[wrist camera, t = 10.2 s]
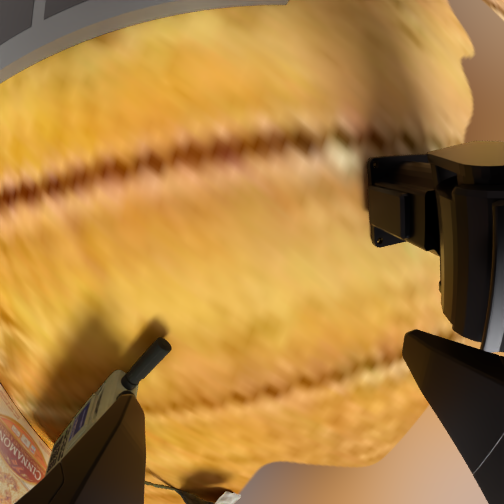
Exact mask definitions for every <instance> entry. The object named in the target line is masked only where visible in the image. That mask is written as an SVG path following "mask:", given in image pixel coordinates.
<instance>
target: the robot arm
mask: <svg viewBox="0 0 504 504" xmlns="http://www.w3.org/2000/svg"><path fill="white" fill-rule="evenodd" d="M374 161H375V162H376V167H375V168H374V167H373V163H374ZM367 169H368V180H369V188H368V202H369V220H370V223H371V230H372V243H373V245H375V246H377V247H384V246H388V245H393V244H397V243H402V242H406V241H407V242H409V243H411V244H413V245H415V246H417V247H419V248H421V249H423V250H425V251H430V252H431V253H433V254H435V255H437V256H439V257H440V282H439V291H440V292H441V305H442V309H443V313H444V314H445V316H446V317H447V318H448V320H449V321H450V322H451V323H452V329H453V330H454V331H455V332H457V333H458V334H460V335H461V336H463V337H465V338H468V339H470V340H473V341H477V342H481V347H480V349H477V348H474V347H471V346H467V345H464V344H461V343H458V342H455V341H451V340H448V339H445V338H442V337H439V336H436V335H432V334H429V333H426V332H423V331H420V330H417V329H415V330H412V331H410V332H407V333H406V334H405V337H404V343H403V350H402V355H403V358H404V360H405V362H406V364H407V366H408V368H409V369H410V371H411V373H412V375H413V377H414V379H415V381H416V383H417V385H418V387H419V388H420V390H421V392H422V393H423V395H424V397H425V398H426V400H427V401H428V403H429V404H430V406H431V407H432V409H433V410H434V412H435V413H436V415H437V416H438V418H439V420H440V421H441V423H442V424H443V426H444V427H445V429H446V430H447V432H448V434H449V435H450V437H451V439H452V440H453V442H454V444H455V445H456V447H457V449H458V450H459V452H460V453H461V455H462V457H463V458H464V460H465V462H466V464H467V465H468V467H469V469H470V470H471V472H472V474H473V476H474V478H475V479H476V481H477V483H478V485H479V487H480V488H481V490H482V492H483V494H484V496H485V498H486V500H487V501H488V503H489V504H504V357H503V356H499V355H497V354H493V353H492V352H504V142H501V141H473V142H468V143H463V144H459V145H455V146H451V147H447V148H443V149H439V150H435V151H431V152H427V154H420V155H400V156H384V157H372V158H370V159H369V160H368V162H367ZM378 238H380V241H379V242H377V240H378ZM145 466H146V443H145V416H144V412H143V410H142V408H141V406H140V404H139V403H138V401H137V399H136V397H135V396H134V395H132V394H126V395H121V396H120V397H119V398H118V399H117V400H116V401H115V402H114V403H113V404H112V405H111V406H110V407H109V409H108V410H107V411H106V412H105V413H104V414H103V415H102V416H101V417H100V418H99V419H98V420H97V422H96V423H95V424H94V425H93V426H92V427H91V428H90V429H89V430H88V431H87V432H86V433H85V434H84V436H83V437H82V438H81V439H80V440H79V441H78V442H77V443H76V444H75V445H74V446H73V447H72V449H71V450H70V451H69V452H68V453H67V454H66V455H65V456H64V457H63V458H62V459H61V461H60V462H58V464H57V465H56V466H55V467H54V468H53V469H52V470H51V471H50V472H49V473H48V474H47V475H46V476H45V477H44V478H43V479H42V480H41V481H40V482H39V483H37V484H36V485H35V486H34V487H33V488H32V489H31V490H30V491H28V492H27V493H26V494H25V495H24V496H22V497H21V498H20V499H19V500H18V501H17V502H15V503H14V504H144V484H145Z"/></svg>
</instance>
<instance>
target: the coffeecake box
mask: <svg viewBox="0 0 504 504" xmlns="http://www.w3.org/2000/svg"><path fill="white" fill-rule="evenodd" d="M51 452H52V451H51V450H50V449H49V448H48V447H47V445H46V444H45V443H44V442H43V441H42V440H41V438H40V437H39V436H38V435H37V434H36V432H35V431H34V430H33V429H32V428H31V426H30V425H29V424H28V422H27V421H26V420H25V418H24V417H23V416H22V414H21V413H20V412H19V410H18V409H17V407H16V406H15V405H14V403H13V402H12V400H11V399H10V397H9V396H8V394H7V393H6V391H5V390H4V388H3V387H2V385H1V383H0V504H14V503H15V502H17V501H18V500H19V499H20V498H21V497H22V496H24V495H25V494H26V493H27V492H28V491H30V490H31V489H32V488H33V487H34V486H35V485H36V484H37V483H39V482H40V481H41V480H42V479H43V478H44V477H45V473H46V470H47V466H48V462H49V459H50V456H51Z"/></svg>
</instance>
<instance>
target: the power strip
mask: <svg viewBox="0 0 504 504" xmlns="http://www.w3.org/2000/svg"><path fill="white" fill-rule="evenodd" d="M288 1H289V0H0V83H2V82H3V81H5V80H7V79H8V78H10V77H12V76H13V75H15V74H17V73H19V72H20V71H22V70H24V69H26V68H28V67H29V66H31V65H33V64H35V63H37V62H39V61H41V60H43V59H45V58H47V57H49V56H51V55H54V54H56V53H58V52H60V51H62V50H65V49H67V48H69V47H72V46H74V45H76V44H79V43H81V42H84V41H87V40H89V39H92V38H95V37H97V36H100V35H103V34H106V33H109V32H112V31H115V30H118V29H121V28H125V27H128V26H132V25H135V24H139V23H143V22H146V21H150V20H155V19H159V18H163V17H168V16H173V15H178V14H183V13H189V12H195V11H202V10H209V9H217V8H226V7H237V6H252V5H286V4H287V3H288Z"/></svg>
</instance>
